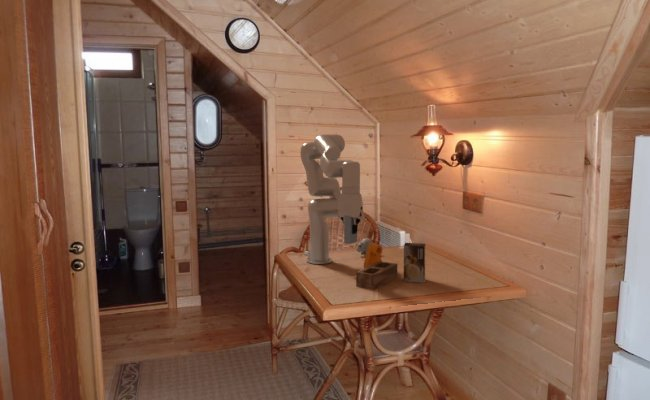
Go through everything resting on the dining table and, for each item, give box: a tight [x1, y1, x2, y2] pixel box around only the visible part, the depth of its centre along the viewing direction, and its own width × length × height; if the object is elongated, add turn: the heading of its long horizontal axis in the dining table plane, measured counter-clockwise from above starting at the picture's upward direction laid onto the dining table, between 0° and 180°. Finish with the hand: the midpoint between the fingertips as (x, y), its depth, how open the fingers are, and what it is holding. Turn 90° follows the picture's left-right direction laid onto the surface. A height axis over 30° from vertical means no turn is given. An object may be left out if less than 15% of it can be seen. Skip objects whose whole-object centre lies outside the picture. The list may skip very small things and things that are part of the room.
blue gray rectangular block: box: [343, 215, 358, 245], centre depth 216 cm, size 3×6×12 cm, turn 148°
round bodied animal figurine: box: [355, 237, 374, 255], centre depth 267 cm, size 7×12×8 cm, turn 135°
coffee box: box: [403, 242, 426, 284], centre depth 219 cm, size 9×6×16 cm
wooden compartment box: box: [355, 260, 398, 290], centre depth 218 cm, size 9×22×6 cm, turn 148°
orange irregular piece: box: [363, 242, 384, 269], centre depth 238 cm, size 11×7×12 cm, turn 134°
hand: (350, 232), depth 216 cm, fingers closed on blue gray rectangular block, 3 cm apart
